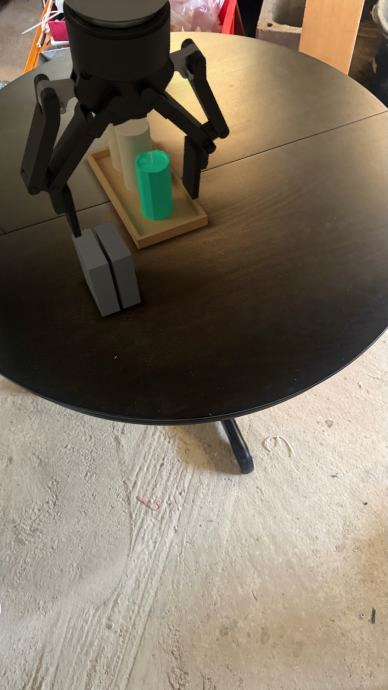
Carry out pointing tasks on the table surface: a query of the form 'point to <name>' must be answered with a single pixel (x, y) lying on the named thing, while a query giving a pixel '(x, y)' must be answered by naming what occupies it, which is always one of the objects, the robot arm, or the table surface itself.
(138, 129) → the cream candle
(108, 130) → the cream candle
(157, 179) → the candle
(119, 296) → the grey book
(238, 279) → the table surface
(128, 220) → the tray
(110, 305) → the grey book
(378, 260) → the table surface
